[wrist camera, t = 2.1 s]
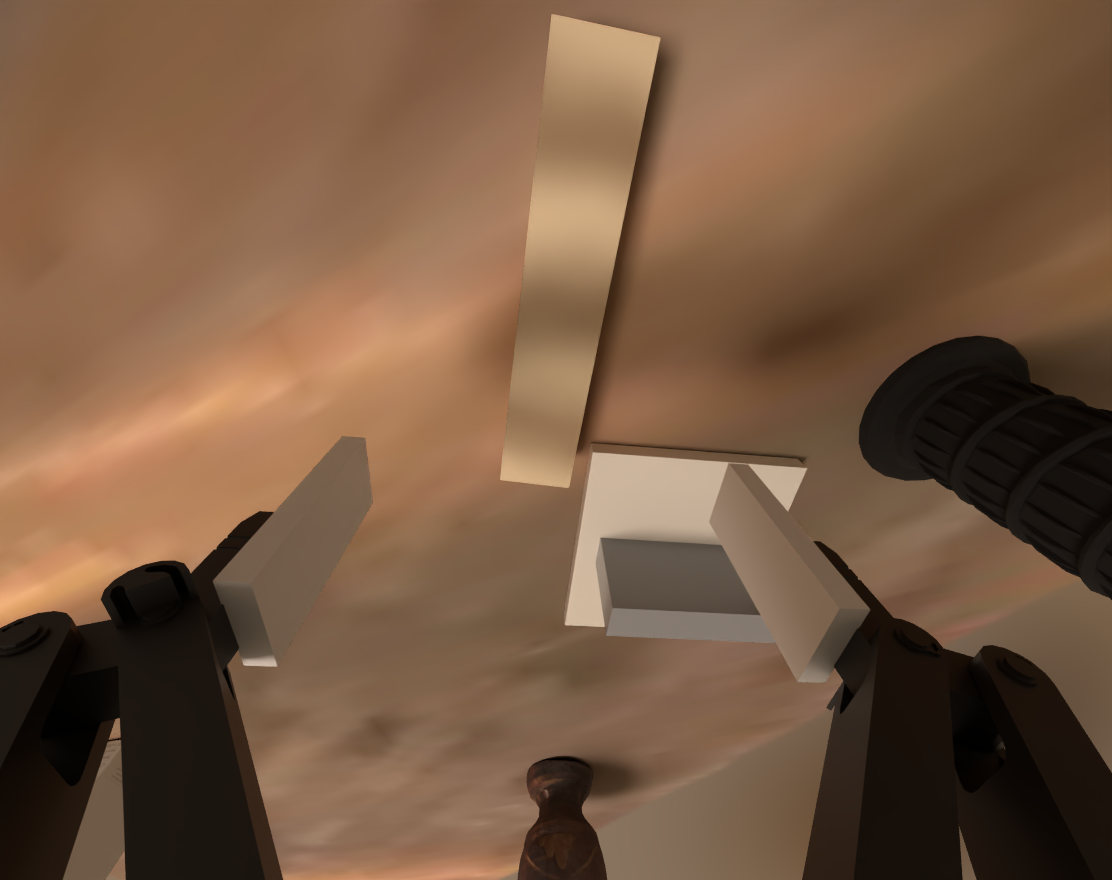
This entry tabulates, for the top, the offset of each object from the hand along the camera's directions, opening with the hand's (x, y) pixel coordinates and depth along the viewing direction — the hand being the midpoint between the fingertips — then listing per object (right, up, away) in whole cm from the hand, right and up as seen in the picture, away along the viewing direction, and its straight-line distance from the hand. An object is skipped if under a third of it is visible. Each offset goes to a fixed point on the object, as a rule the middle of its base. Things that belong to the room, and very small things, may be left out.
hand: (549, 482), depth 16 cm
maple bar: (+1, +10, +8) cm, 12 cm away
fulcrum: (+9, -6, +16) cm, 19 cm away
